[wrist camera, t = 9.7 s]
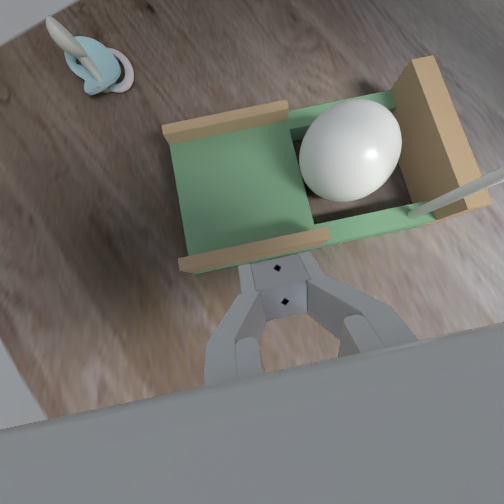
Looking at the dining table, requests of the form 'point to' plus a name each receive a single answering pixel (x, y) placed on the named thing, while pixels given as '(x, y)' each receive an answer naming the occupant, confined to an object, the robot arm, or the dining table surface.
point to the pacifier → (92, 61)
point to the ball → (350, 150)
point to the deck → (290, 180)
